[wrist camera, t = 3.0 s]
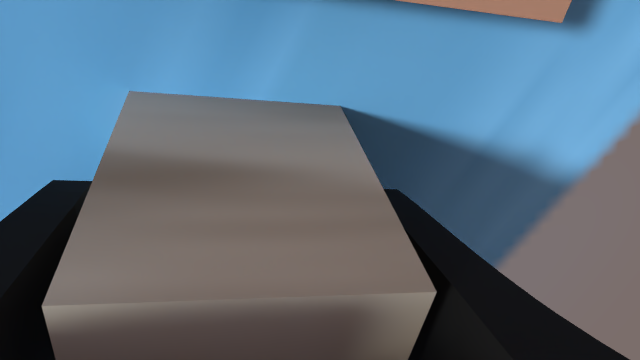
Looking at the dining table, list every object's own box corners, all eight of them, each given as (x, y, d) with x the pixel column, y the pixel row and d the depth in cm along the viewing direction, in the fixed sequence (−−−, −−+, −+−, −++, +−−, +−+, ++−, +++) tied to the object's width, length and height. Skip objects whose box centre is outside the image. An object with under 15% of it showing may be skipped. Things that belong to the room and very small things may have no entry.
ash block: (311, 250, 11) (363, 463, 7) (141, 252, 10) (93, 499, 6) (340, 105, 9) (436, 291, 5) (129, 90, 8) (41, 305, 4)
